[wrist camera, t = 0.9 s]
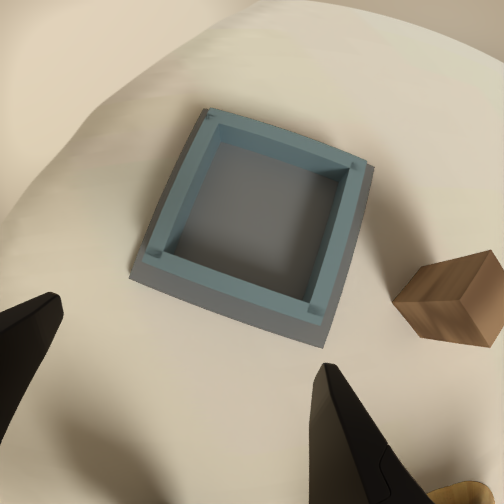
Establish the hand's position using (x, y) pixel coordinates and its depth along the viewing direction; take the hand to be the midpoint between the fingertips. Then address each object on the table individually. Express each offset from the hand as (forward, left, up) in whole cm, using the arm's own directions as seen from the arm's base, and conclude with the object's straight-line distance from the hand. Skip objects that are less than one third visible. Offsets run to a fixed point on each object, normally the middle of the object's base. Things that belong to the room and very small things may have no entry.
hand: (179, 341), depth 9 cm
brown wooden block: (-11, -14, -15) cm, 23 cm away
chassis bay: (+4, -8, -15) cm, 17 cm away
